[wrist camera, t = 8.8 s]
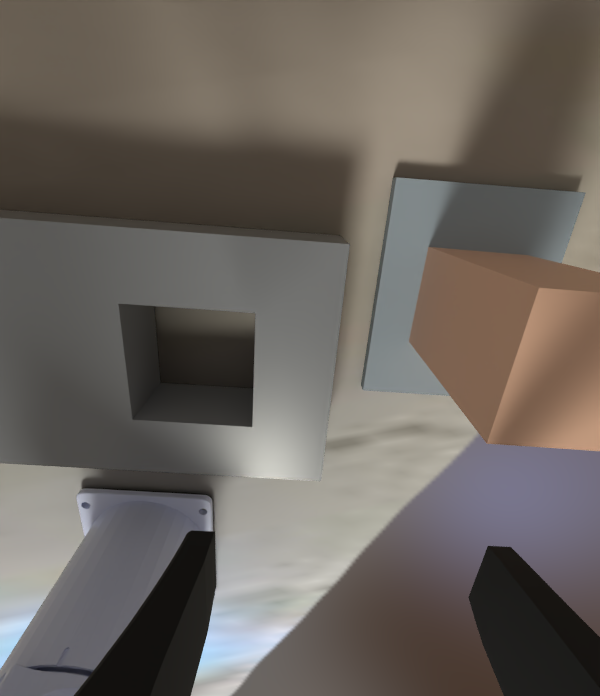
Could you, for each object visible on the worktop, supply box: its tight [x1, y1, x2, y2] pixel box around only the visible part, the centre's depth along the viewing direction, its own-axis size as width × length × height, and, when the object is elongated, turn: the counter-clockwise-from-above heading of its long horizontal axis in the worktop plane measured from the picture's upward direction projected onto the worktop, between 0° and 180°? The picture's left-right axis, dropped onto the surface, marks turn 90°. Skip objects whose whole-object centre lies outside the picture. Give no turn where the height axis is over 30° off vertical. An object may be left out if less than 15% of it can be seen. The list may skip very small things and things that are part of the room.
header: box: [0, 210, 350, 481], centre depth 17 cm, size 11×16×4 cm
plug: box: [409, 247, 600, 451], centre depth 13 cm, size 4×4×8 cm
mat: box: [361, 177, 585, 396], centre depth 17 cm, size 10×8×1 cm
